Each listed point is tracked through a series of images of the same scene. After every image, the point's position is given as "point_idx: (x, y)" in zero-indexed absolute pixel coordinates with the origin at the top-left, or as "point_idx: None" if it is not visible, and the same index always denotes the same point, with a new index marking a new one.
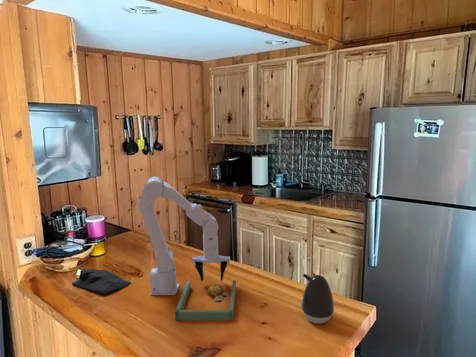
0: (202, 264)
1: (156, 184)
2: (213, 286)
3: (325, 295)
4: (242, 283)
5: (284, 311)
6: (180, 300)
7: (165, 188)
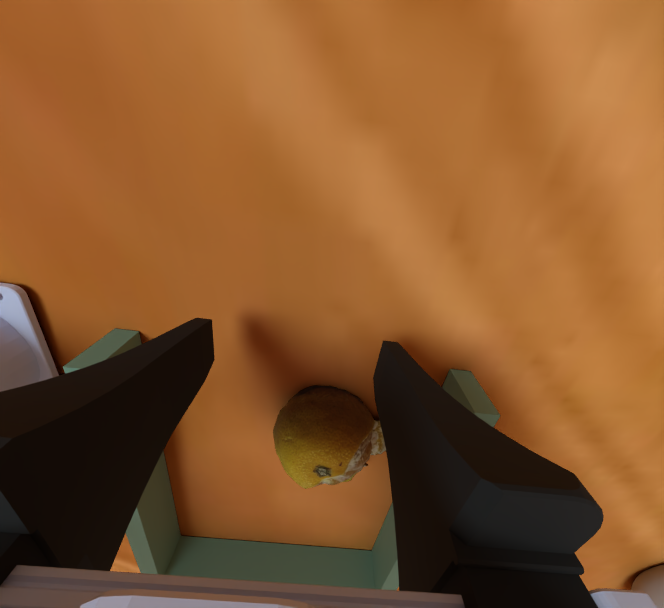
0: (87, 456)
1: None
2: (309, 475)
3: None
4: (539, 325)
5: (590, 543)
6: (135, 544)
7: None
